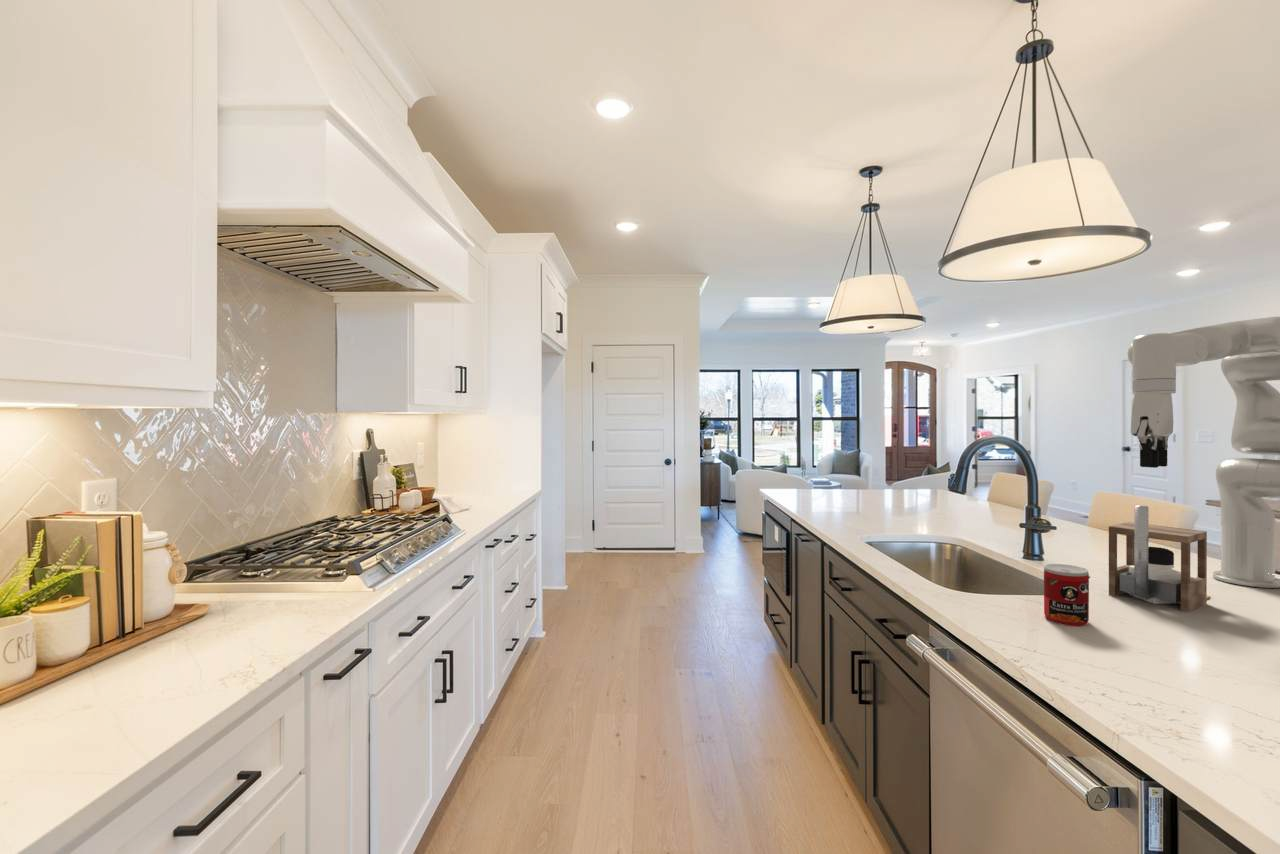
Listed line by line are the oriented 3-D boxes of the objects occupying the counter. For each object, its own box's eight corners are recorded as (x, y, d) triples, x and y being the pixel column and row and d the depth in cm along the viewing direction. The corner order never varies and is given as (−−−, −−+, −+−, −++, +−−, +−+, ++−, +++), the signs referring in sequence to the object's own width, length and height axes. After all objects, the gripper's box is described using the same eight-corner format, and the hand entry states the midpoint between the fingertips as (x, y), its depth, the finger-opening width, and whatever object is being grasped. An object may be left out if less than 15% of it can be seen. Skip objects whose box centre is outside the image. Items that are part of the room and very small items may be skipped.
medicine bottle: (1186, 604, 131) (1186, 551, 131) (1154, 604, 131) (1154, 551, 131) (1158, 594, 138) (1158, 544, 138) (1128, 594, 138) (1128, 545, 138)
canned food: (1047, 623, 120) (1046, 570, 120) (1041, 611, 127) (1041, 562, 127) (1093, 629, 116) (1093, 575, 116) (1084, 617, 123) (1084, 565, 123)
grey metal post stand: (1138, 584, 141) (1138, 498, 141) (1193, 594, 133) (1194, 504, 132) (1111, 593, 134) (1111, 503, 134) (1168, 605, 125) (1168, 509, 125)
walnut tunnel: (1128, 588, 143) (1128, 522, 143) (1206, 603, 131) (1206, 531, 131) (1108, 594, 138) (1108, 526, 138) (1188, 612, 126) (1188, 536, 125)
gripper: (1148, 389, 140) (1148, 463, 141) (1117, 387, 132) (1117, 467, 132) (1189, 387, 134) (1189, 465, 134) (1159, 386, 126) (1159, 469, 126)
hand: (1153, 465), depth 133 cm, fingers open, 4 cm apart
